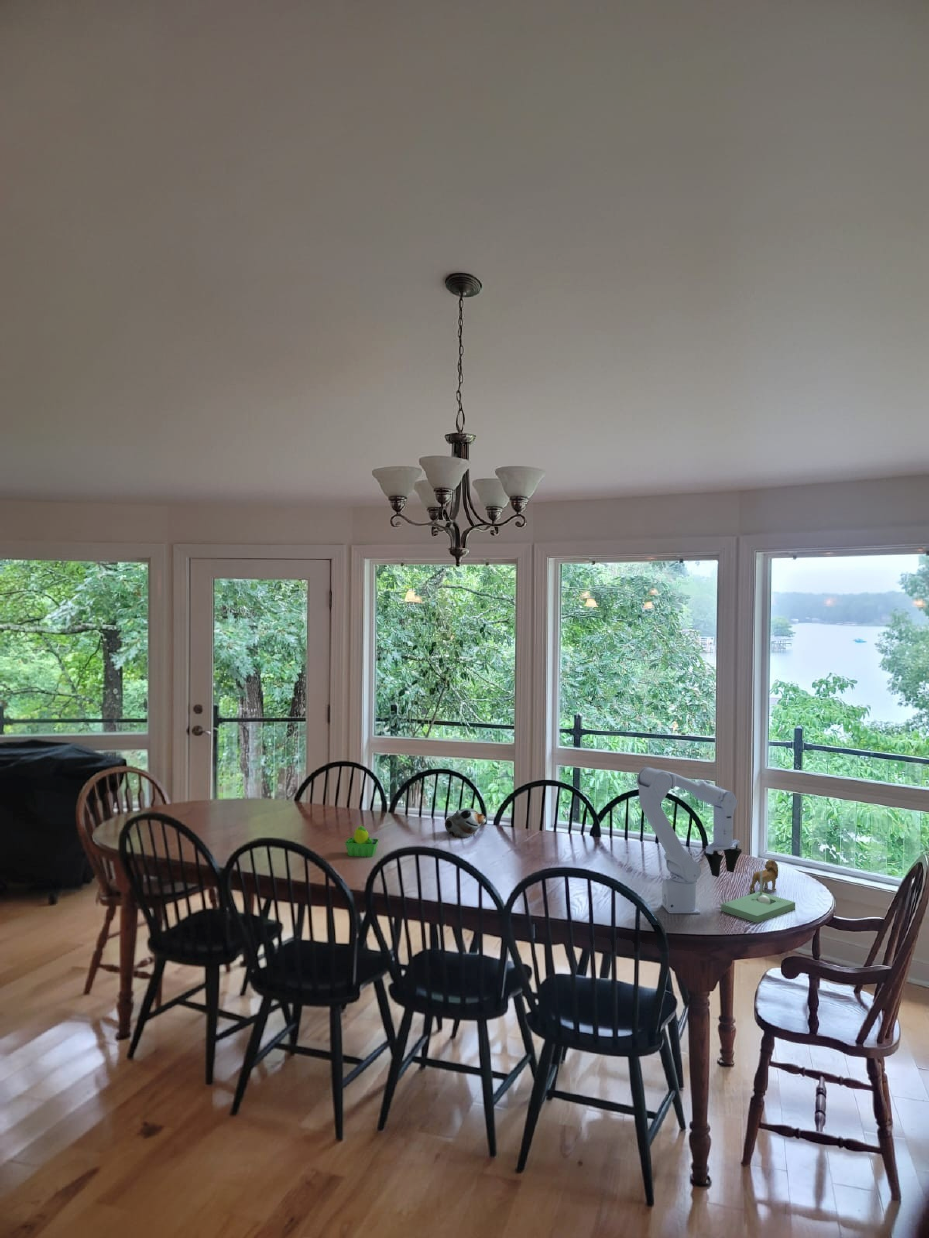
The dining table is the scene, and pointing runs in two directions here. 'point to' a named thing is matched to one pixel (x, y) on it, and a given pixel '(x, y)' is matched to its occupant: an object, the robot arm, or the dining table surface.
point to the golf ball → (764, 899)
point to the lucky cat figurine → (464, 823)
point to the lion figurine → (771, 876)
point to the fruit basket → (361, 844)
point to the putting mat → (758, 905)
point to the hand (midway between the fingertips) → (722, 873)
